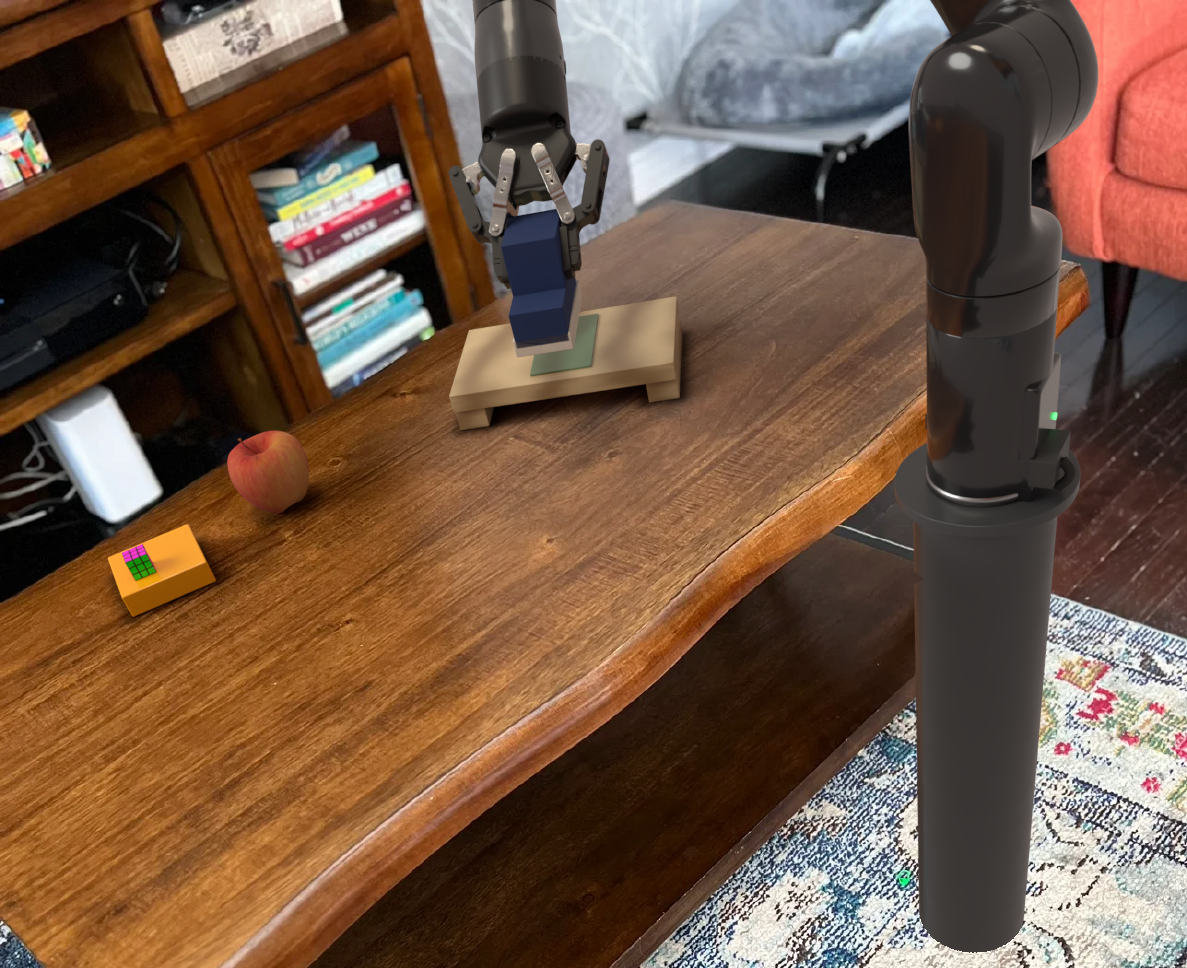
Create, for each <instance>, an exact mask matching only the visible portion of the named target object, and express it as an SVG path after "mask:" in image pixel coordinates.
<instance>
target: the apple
mask: <svg viewBox="0 0 1187 968" xmlns="http://www.w3.org/2000/svg"><path fill="white" fill-rule="evenodd" d="M237 441H239V443H238V444H237V445H235V446H234V448H233V449H232V450H231V451H230V452H229V454H228V457H227V472H228V475H229V478H230V480H231V483H232V485H233V486H234V488H235V490H236V491H237V492H238V493H239V494H240V496H241V497H242V498H243V499H244V500H246V501H247V502H248V503H250V505H252V506H254V507H255V508H257V509H260V510H261V511H265V512H268V513H272V514H277V515H279V514H281V513H283V512H285V511H286V509H288V508H289V507H291V506H292V505H294V504H295V503H299V502H301V501H302V500H303V499H304V498H305V496H306V493H307V490H308V486H309V479H310V466H309V460H308V456H307V454H306V451H305V449H304V448H303V445H302V444H301V442H299V440H298V439H297V438H296V437H295V436H293V435H292V434H291V433H288V432H286V431H283V430H282V431H281V430H268V431H262V432H260V433H258V434H256V435H253V436H251V437H249V438H246V439H245V440H242V438H237Z"/></svg>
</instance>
